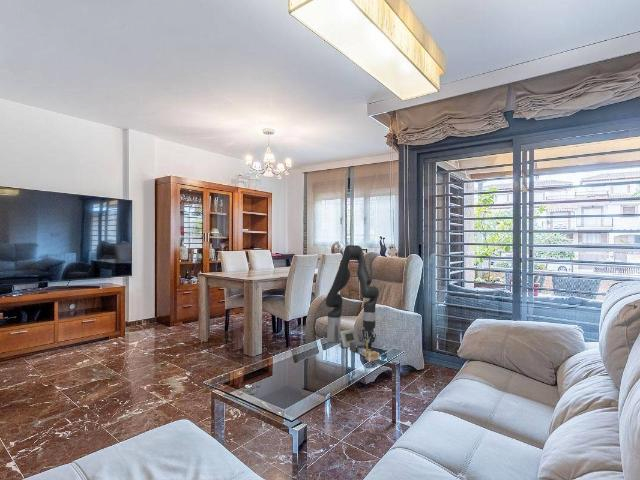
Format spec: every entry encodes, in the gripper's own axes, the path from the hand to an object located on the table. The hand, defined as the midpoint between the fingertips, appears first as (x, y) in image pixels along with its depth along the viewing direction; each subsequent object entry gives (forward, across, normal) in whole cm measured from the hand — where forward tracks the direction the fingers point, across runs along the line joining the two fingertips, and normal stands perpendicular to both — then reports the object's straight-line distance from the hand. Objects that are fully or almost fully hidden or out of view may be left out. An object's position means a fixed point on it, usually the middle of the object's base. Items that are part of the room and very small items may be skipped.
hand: (368, 348), depth 216 cm
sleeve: (+6, -16, 0) cm, 16 cm away
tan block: (+6, +4, 0) cm, 7 cm away
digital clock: (+6, -28, +1) cm, 29 cm away
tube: (+5, -4, 0) cm, 7 cm away
